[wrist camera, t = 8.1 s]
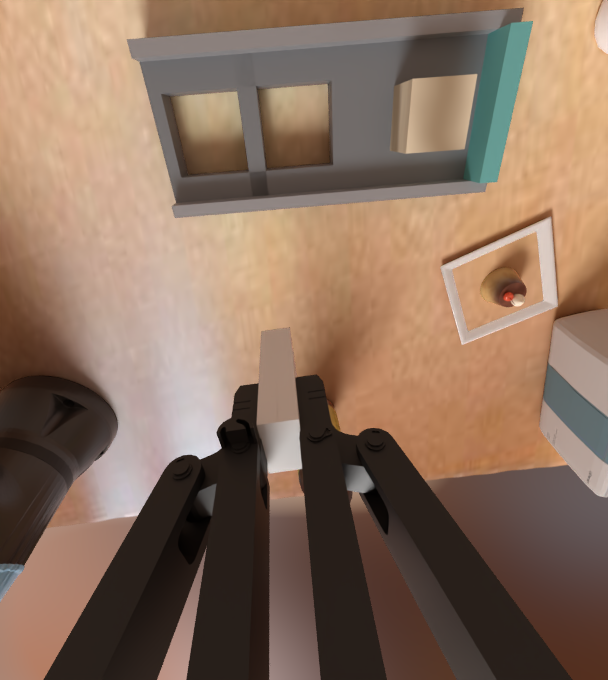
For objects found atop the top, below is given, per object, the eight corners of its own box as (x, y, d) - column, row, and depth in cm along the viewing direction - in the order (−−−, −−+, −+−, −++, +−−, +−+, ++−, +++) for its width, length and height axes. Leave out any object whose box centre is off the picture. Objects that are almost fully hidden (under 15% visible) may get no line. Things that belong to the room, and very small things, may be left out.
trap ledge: (185, 209, 33) (170, 221, 28) (146, 51, 26) (117, 34, 22) (464, 185, 33) (494, 194, 28) (493, 23, 27) (537, 0, 22)
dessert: (436, 263, 38) (454, 278, 34) (544, 213, 36) (577, 224, 32) (458, 340, 44) (475, 361, 40) (552, 302, 42) (581, 321, 38)
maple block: (389, 150, 29) (405, 153, 25) (394, 86, 26) (412, 78, 23) (440, 146, 29) (464, 149, 25) (449, 82, 26) (477, 74, 23)
